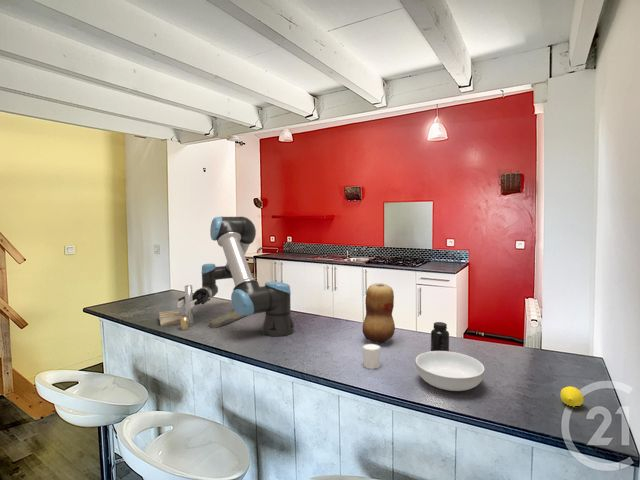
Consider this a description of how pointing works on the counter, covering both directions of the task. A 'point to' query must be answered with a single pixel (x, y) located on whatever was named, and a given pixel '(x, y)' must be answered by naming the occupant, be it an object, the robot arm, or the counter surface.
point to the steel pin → (187, 304)
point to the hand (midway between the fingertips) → (184, 305)
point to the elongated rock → (225, 319)
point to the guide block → (170, 317)
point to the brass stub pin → (184, 323)
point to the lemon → (571, 396)
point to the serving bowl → (449, 370)
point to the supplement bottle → (440, 337)
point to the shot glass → (371, 355)
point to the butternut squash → (379, 313)
